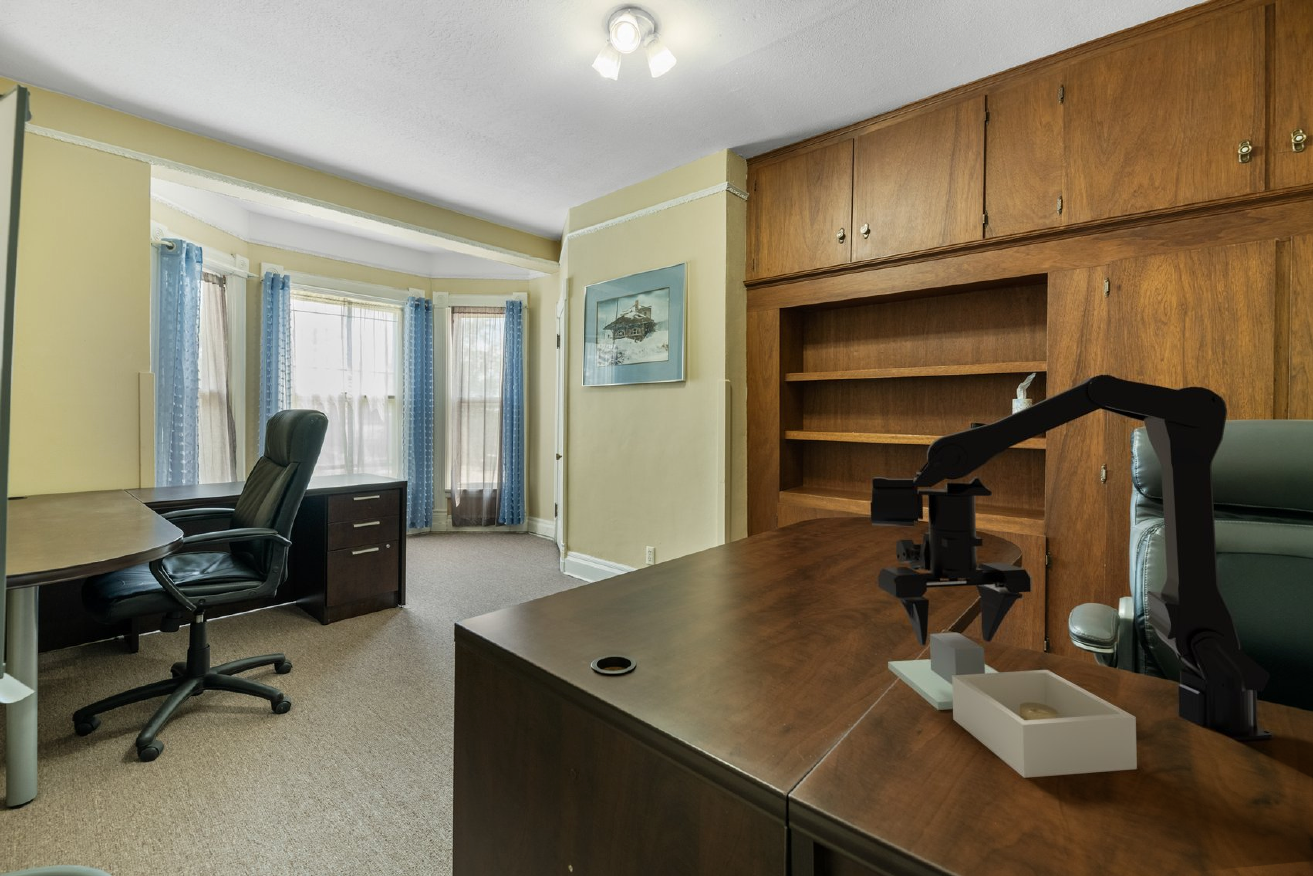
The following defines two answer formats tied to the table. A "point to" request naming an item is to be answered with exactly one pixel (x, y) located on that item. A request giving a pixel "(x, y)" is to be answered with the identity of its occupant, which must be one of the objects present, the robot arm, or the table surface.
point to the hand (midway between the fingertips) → (954, 642)
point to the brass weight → (1037, 711)
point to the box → (1044, 724)
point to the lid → (942, 667)
